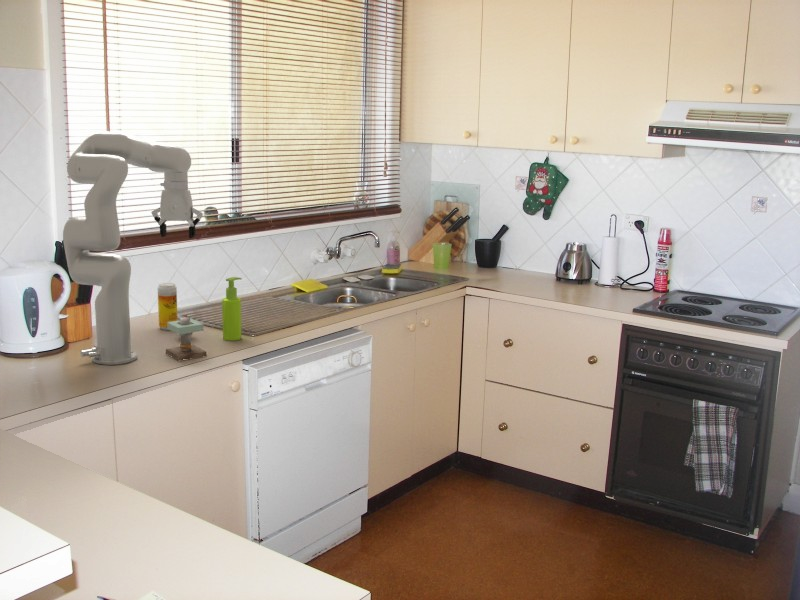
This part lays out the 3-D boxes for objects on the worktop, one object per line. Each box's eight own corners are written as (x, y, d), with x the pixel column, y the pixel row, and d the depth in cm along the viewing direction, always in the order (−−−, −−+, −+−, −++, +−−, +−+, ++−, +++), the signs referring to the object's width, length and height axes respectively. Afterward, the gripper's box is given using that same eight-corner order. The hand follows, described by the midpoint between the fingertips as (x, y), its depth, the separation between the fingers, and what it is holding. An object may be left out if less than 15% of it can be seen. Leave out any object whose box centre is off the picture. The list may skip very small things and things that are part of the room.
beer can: (172, 330, 290) (171, 287, 286) (155, 329, 291) (154, 285, 287) (180, 326, 295) (179, 283, 292) (164, 324, 297) (162, 282, 293)
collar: (178, 334, 256) (178, 328, 256) (167, 328, 262) (166, 322, 262) (203, 330, 261) (203, 324, 261) (191, 324, 267) (191, 318, 267)
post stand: (178, 361, 257) (177, 323, 255) (165, 353, 264) (164, 317, 261) (206, 356, 263) (205, 319, 260) (193, 349, 270) (192, 313, 267)
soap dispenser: (247, 337, 284) (246, 277, 280) (232, 341, 279) (231, 280, 274) (234, 334, 288) (233, 275, 283) (219, 338, 282) (217, 278, 277)
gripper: (146, 186, 285) (148, 237, 289) (197, 188, 283) (199, 239, 287) (155, 184, 292) (157, 234, 296) (205, 185, 290) (206, 236, 294)
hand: (177, 237), depth 291 cm, fingers open, 9 cm apart
